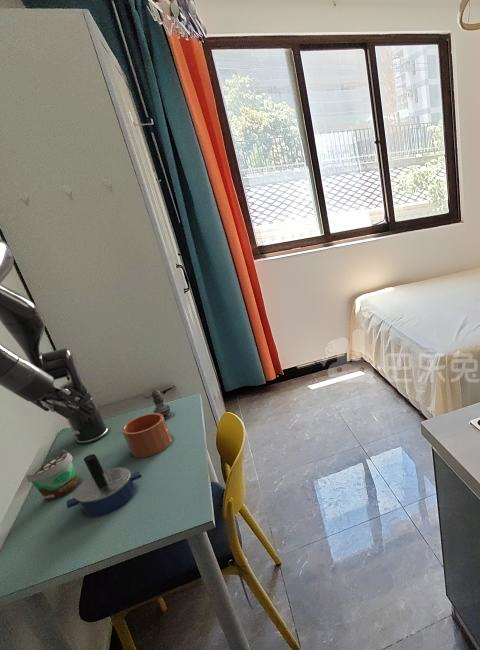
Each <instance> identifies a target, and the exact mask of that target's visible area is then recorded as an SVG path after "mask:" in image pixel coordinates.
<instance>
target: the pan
mask: <svg viewBox="0 0 480 650" xmlns="http://www.w3.org/2000/svg"><path fill="white" fill-rule="evenodd" d="M141 478H142V473H141V471H140V470H137V471H135V472H133V473H131V477H130V480H129V481H128V483H127V484H126V485H125V486H124V487H123V488H121V489H120V490H119V491H117V492H116V493H114V494H112V495H111V496H109V497H106V498H104V499H102V500H99V501H95V502H90V503H81V502H78V501H77V500H76V499H75V497H73V498H71V499H68V500H66V508H67V509H70V508H72V507H75V506H78V505H80V507H81V508H82V510H83V512H85V514H86V515H88V516H91V517H97V516H98V517H99V516H102V515H107V514H109V513H111V512H112V513H113V512H114V511H116V510H118V509H119V508H121V507H123V506H124V505H126V504H127V503H128V502H129V501H130V500H131V499H132V498H133V497H134V495H135V494H136V487H135V484H134V481H136V480H138V479H141Z"/></svg>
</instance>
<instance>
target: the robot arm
mask: <svg viewBox="0 0 480 650" xmlns="http://www.w3.org/2000/svg"><path fill="white" fill-rule="evenodd" d="M14 258H15V257H14V255H13V251H12V249H11V248H10V246H9V244H7V243H6V242H5V240H3V239H1V238H0V322H1V324H2V325H3V326H4V328H5V329H6V331H7V332H8V333H9V334H10V336H12V338H13V339H14V341H15V342H16V344H17V345H19V347H20V349H21V350H22V351H23V353H24V355H25V357H26V358H27V359H25V358H23V357H21V356H20V355H18V354H16V353H15V352H13V351H12V350H11V349H9V348H7V347H6V346H4V345H3V344H1V343H0V386H1V387H3V388H4V389H6V390H8V391H9V392H11V393H12V394H14V395H17V396H18V397H20V398H21V399H23V400H25V401H27V402H30V403H31V404H34V405H35V406H36V407H38V408H40V409H41V410H43V411H44V412H49V411H50V412H52V413H57V414H58V415H60V416H61V417H63V418H65V419H66V420H67V422H68V424H69V426H70V428H71V432H72V434H73V435H74V436H75V438H76V441H77V443H78V444H82V445H85V444H91V443H93V442H95V441H98V440H101V439H102V438H103V437H105V436H106V435H107V434H108V432H109V429H108V427H107V426H106V423H105V421H104V419H103V417H102V415H101V412H100V411H99V409H98V407H97V404H96V402H95V399H94V398H93V396H92V394H91V391H90V389H89V387H88V385H87V383H86V381H85V378H84V376H83V373H82V372H81V369H80V367H79V364H78V361H77V358H76V357H75V355H74V353H73V352H72V351H73V350H71V349H69V348H68V347H67V348H66V347H65V348H61V349H60V348H59V349H56V350H51V351H48V352H44V353H43V352H41V350H40V347H41V346H40V345H41V341H42V338H43V336H44V332H45V328H46V321H45V318H44V316H43V315H42V314H41V312H40V310H39V309H38V307H37V305H36V304H35V303H34V302H33V301H32V300H31V299H29V298H28V297H27V296H24V295H23V294H21V293H19V292H17V291H15V290H13V289H11V288H9V287H7V286H6V285H3V284H2V283H3V282H4V280H5V278H6V277H7V276H8V275H9V274H10V273H11V271H12V269H13V267H14V263H15V259H14ZM67 377H68V378H69V380H67V382H65V383H63V384H62V385H60V386H59V387H58V386H55V385H54V382H55V380H56V381H57V380H60V379H63V378H67Z"/></svg>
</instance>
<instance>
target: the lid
mask: <svg viewBox="0 0 480 650" xmlns="http://www.w3.org/2000/svg"><path fill="white" fill-rule="evenodd" d="M83 462H84V464H85V466H86V468H87V469H88V472H89V474H90V476H89V478H87V479H86V480H84V481H83V482H81V484H79V485H78V486H77V487H76V488H75V489H76V490H75V491H74V494H73V498H75V499H76V500H77V501H78V502H81V503H90V502H95V501H99V500H102V499H104V498H106V497H109V496H111V495H112V494H114V493H116V492H117V491H119V490H120V489H121V488H123V487H124V486H125V485H126V484H127V483H128V481H129V480H130V477H131V474H132V473H131V472H130V470H129V469H128V468H126V467H113V468H109V469H105V470H104V469H103V467H102V465H101V463H100V461H99V459H98V457H97V455H96V453H91V454H89V455H86V456H84V458H83Z"/></svg>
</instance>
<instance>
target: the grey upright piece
mask: <svg viewBox="0 0 480 650" xmlns="http://www.w3.org/2000/svg"><path fill="white" fill-rule="evenodd" d="M151 397H152V399H153V401H152V403H154V405H155V408H154V409H153V411H152V413H159V414H162V415H163V417H164V420H165V421H167V420H169V419H171V418H172V417H173V415H174V414H173V413H172V412H171V405H170V404H166V403H165V401H164V397H163V396H162V393H161V391H160V390H157V389H155V388H153V391H152V392H151Z"/></svg>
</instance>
